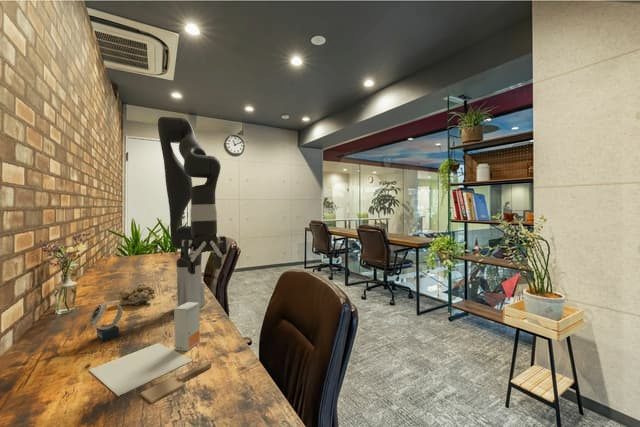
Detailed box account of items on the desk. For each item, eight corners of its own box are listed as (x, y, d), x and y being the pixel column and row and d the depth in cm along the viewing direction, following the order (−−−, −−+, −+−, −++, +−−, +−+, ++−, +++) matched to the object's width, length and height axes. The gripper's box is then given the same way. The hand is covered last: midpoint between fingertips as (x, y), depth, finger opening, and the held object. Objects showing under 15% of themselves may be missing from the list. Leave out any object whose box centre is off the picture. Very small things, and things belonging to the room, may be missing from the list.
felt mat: (158, 343, 86) (158, 342, 86) (192, 360, 76) (192, 360, 76) (88, 370, 72) (88, 369, 72) (118, 396, 62) (118, 395, 62)
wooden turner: (203, 362, 74) (203, 359, 74) (215, 368, 71) (215, 364, 71) (141, 395, 62) (140, 390, 62) (152, 404, 59) (151, 399, 59)
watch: (89, 340, 89) (87, 305, 89) (119, 331, 95) (118, 298, 95) (94, 345, 86) (93, 308, 85) (125, 335, 92) (124, 301, 92)
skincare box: (187, 351, 81) (186, 309, 80) (174, 350, 81) (173, 308, 81) (200, 341, 87) (199, 302, 86) (188, 340, 87) (187, 301, 87)
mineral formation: (147, 296, 134) (165, 299, 125) (115, 309, 123) (132, 314, 114) (143, 279, 133) (161, 281, 124) (111, 292, 121) (127, 295, 113)
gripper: (217, 218, 97) (218, 266, 97) (175, 220, 86) (176, 274, 86) (230, 218, 93) (232, 268, 93) (187, 220, 81) (189, 277, 82)
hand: (205, 271), depth 89 cm, fingers open, 8 cm apart
